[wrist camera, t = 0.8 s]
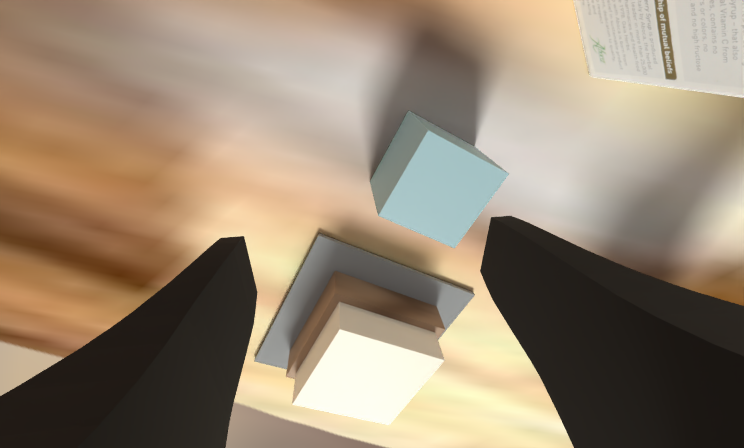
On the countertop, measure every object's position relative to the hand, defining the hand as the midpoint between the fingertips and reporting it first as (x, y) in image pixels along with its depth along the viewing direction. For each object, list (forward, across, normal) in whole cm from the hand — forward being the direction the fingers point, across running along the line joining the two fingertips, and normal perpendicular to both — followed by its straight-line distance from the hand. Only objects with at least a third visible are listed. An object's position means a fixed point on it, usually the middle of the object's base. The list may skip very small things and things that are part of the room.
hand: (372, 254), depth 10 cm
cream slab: (+7, 0, +13) cm, 15 cm away
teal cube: (+10, -4, +1) cm, 11 cm away
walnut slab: (+9, 0, +13) cm, 16 cm away
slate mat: (+9, 0, +13) cm, 16 cm away
